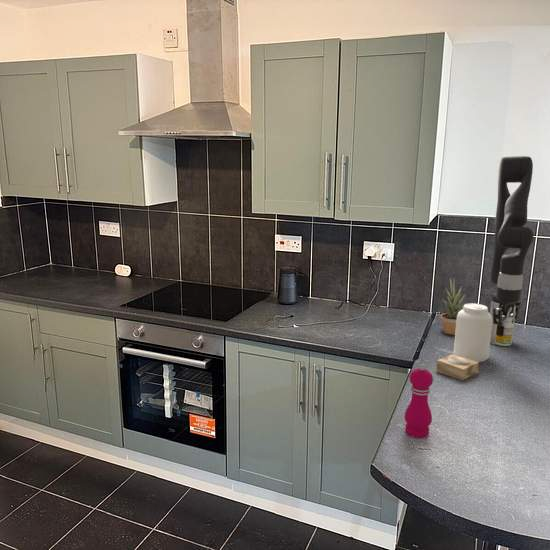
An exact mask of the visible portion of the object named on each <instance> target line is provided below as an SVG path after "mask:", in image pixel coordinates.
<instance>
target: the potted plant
mask: <svg viewBox="0 0 550 550" xmlns="http://www.w3.org/2000/svg"><path fill="white" fill-rule="evenodd" d="M449 281H450V291H449V290H448V289H447V287H445V290H446V293H447V300H448V302H447V301H446V300H444V298H442V302H443V303H444V304H445V307H444V308H445V310H446V311H445V313H441V314H440V320H441V323H442V327H443V332H444V334H447V335H453V336H455V331H456V320H457V315H458V312H459V311H461V310H462V309H463V306H464V305H465V303H463V302H464V301H465V299H464V298H465V297H466V294H464V295H463V296H462V297H461V294H462V293H461V291H462V287H460V288H459V290H458V292H457V293H456V287H455V286H456V285H455V283H456V282H455V281H456V280H455V279H453V282H452V278H451V277H450V279H449ZM450 292H451V293H450ZM460 297H461V299H460Z"/></svg>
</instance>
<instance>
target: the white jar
mask: <svg viewBox="0 0 550 550" xmlns="http://www.w3.org/2000/svg"><path fill="white" fill-rule="evenodd" d="M491 330H492V316H491V315H490V312H489V308H488V306H486V305H484V304H481V303H474V302H473V303H472V302H471V303H464V304H463V306H462V308H461V309H460V310H459V312H458V315H457V320H456V331H455V335H454V342H453V343H454V344H453V353H452V354H456V355H459V356H462V357H465V358H468V359H471V360H474V361H477V362H479V363H481V362H485V361H487V360H488V359H489V355H490V346H491V343H490V339H491Z"/></svg>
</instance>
